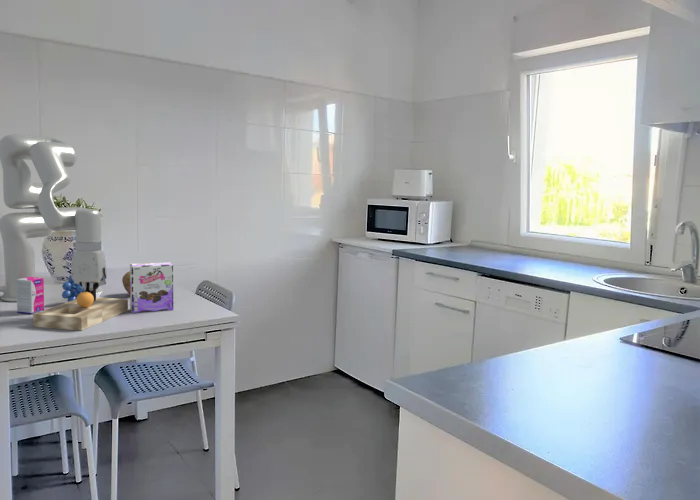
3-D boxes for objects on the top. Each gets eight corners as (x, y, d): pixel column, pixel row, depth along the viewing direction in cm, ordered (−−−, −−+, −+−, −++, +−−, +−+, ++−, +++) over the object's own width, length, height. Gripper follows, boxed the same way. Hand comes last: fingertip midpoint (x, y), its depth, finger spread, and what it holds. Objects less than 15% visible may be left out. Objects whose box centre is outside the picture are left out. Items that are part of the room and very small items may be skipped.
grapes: (92, 299, 198) (91, 267, 196) (99, 302, 193) (98, 270, 191) (58, 303, 190) (57, 270, 188) (64, 307, 185) (63, 273, 183)
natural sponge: (143, 291, 212) (142, 267, 211) (151, 296, 206) (150, 270, 204) (119, 294, 207) (119, 269, 205) (127, 298, 200) (126, 273, 199)
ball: (78, 289, 171) (80, 303, 173) (73, 295, 167) (75, 310, 168) (94, 289, 172) (96, 303, 174) (90, 295, 167) (91, 309, 169)
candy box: (131, 313, 180) (130, 265, 178) (130, 309, 185) (129, 263, 183) (173, 310, 186) (173, 264, 184) (171, 306, 191) (170, 261, 189)
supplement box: (32, 314, 174) (30, 280, 172) (16, 313, 175) (14, 279, 174) (45, 310, 180) (44, 277, 178) (30, 309, 181) (28, 276, 179)
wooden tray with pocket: (33, 326, 161) (33, 313, 160) (85, 307, 185) (85, 296, 185) (81, 330, 159) (81, 317, 158) (128, 310, 183) (127, 299, 183)
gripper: (60, 247, 170) (62, 302, 172) (103, 249, 168) (104, 305, 170) (75, 244, 177) (77, 297, 180) (116, 246, 175) (118, 300, 178)
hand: (90, 301), depth 175 cm, fingers closed
